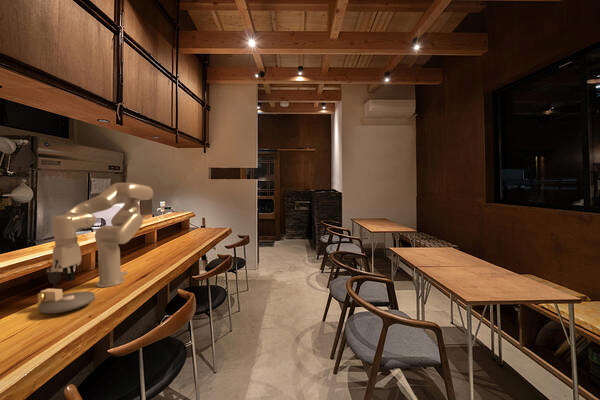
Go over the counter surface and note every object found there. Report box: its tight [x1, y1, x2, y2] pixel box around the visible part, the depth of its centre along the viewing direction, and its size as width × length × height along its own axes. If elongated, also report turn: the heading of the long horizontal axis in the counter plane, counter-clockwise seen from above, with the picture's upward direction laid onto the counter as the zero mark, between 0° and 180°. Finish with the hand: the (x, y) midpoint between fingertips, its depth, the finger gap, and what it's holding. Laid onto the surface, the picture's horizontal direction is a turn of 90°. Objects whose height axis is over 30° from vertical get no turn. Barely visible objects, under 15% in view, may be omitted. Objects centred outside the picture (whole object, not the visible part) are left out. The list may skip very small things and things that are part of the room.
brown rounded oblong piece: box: [37, 292, 75, 313], centre depth 112 cm, size 8×15×7 cm, turn 83°
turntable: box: [38, 288, 96, 314], centre depth 112 cm, size 20×18×6 cm
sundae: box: [44, 261, 63, 290], centre depth 130 cm, size 7×7×15 cm
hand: (70, 280), depth 120 cm, fingers closed
